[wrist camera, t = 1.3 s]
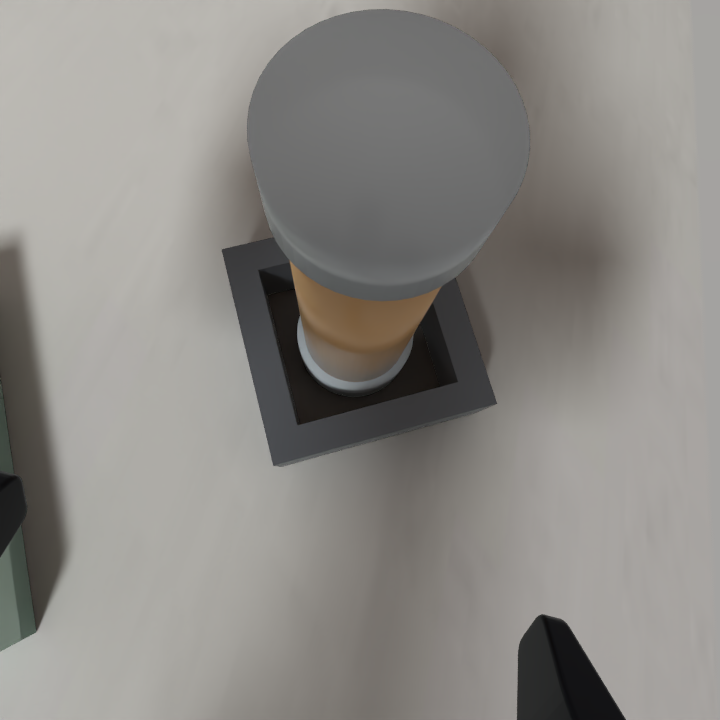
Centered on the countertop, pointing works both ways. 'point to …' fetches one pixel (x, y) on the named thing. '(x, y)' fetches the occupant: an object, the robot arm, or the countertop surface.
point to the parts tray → (13, 567)
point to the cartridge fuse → (381, 178)
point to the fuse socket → (301, 442)
